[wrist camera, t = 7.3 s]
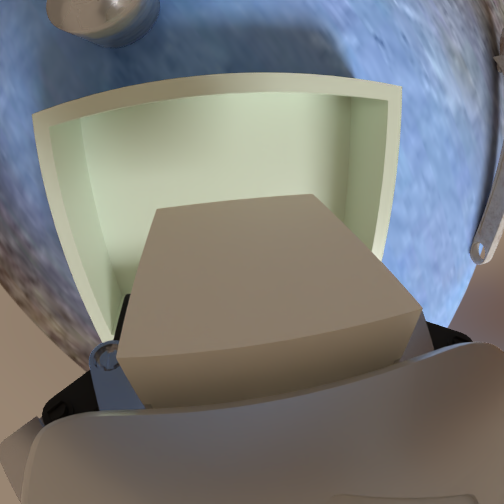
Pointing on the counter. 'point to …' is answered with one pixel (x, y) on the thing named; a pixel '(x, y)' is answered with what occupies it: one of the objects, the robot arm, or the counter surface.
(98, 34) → the tea tin
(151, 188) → the crate
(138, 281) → the flour box
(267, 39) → the counter surface
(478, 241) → the wrench
